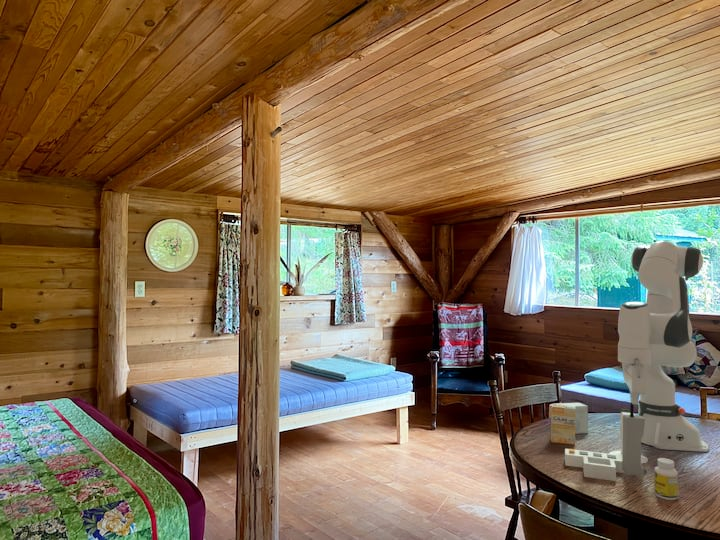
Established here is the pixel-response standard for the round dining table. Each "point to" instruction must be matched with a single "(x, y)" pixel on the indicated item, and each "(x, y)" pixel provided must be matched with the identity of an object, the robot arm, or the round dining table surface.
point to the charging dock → (595, 463)
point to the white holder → (623, 412)
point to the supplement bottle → (666, 479)
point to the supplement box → (563, 424)
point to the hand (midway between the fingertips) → (634, 403)
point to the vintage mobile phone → (632, 443)
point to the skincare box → (579, 417)
